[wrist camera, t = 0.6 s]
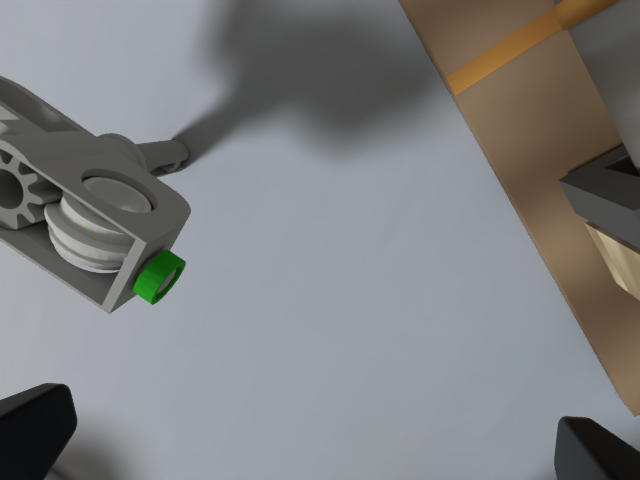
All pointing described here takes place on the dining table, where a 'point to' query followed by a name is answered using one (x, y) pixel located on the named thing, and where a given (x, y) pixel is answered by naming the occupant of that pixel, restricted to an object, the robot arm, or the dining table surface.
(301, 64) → the dining table surface
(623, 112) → the pipe stand
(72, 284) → the mechanical component
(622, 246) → the sleeve
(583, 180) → the gray slab
